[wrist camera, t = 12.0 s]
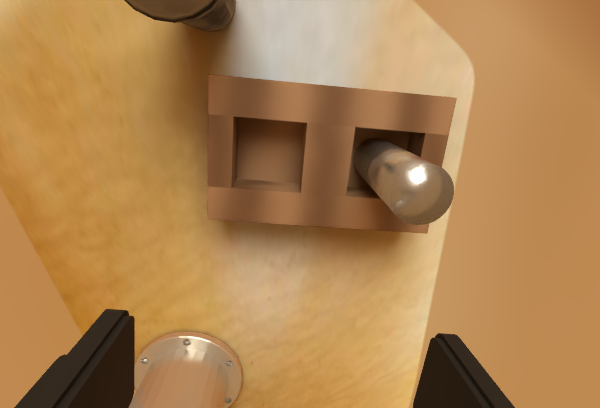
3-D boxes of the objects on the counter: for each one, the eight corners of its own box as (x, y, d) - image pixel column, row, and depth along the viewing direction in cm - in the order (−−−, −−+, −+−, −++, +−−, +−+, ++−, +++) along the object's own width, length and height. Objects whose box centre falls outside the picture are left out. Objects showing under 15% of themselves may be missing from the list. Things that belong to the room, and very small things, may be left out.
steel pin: (390, 180, 33) (446, 226, 22) (350, 177, 33) (385, 223, 22) (398, 139, 32) (460, 166, 21) (356, 136, 32) (396, 161, 20)
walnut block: (431, 97, 32) (456, 97, 28) (408, 215, 36) (427, 233, 31) (219, 77, 31) (208, 74, 26) (217, 202, 35) (207, 219, 30)
